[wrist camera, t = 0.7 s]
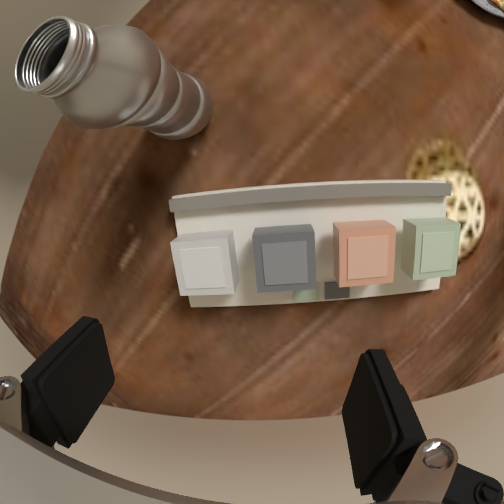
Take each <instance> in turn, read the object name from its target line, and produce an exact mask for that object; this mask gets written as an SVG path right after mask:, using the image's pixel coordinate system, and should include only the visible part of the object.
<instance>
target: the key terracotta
mask: <svg viewBox="0 0 504 504" xmlns="http://www.w3.org/2000/svg"><path fill="white" fill-rule="evenodd" d="M395 241H396V227H395V226H394V225H392V224H390V223H389V222H387V221H386V220H368V221H350V222H333V252H334V276H335V279H336V281H337V283H338V286H339V287H351V286H363V285H373V284H384V283H393V277H394V262H395Z"/></svg>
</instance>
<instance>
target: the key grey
mask: <svg viewBox="0 0 504 504" xmlns="http://www.w3.org/2000/svg"><path fill="white" fill-rule="evenodd" d="M170 244H171V249H172V255H173V261H174V266H175V271H176V276H177V282H178V287H179V292H180V296H192V295H222V294H235V291H236V289H237V286H238V283H239V274H238V266H237V258H236V250H235V241H234V233H233V229H232V230H220V231H208V232H197V233H186V234H181V235H179V236H178V237H177V238H175V239H174V240H173V241H171V242H170Z"/></svg>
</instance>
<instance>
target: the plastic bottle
mask: <svg viewBox="0 0 504 504" xmlns="http://www.w3.org/2000/svg"><path fill="white" fill-rule="evenodd" d="M14 79H15V83H16V85H17V87H18V88H19V89H20V90H22V91H24V92H26V93H33V94H37V95H39V96H41V97H45V98H50V99H54V102H55V104H56V106H57V107H58V109H59V111H60V113H61V114H62V115H63V116H64V117H65V118H67V119H68V120H70V121H71V122H73V123H74V124H76V125H78V126H80V127H83V128H88V129H105V128H113V127H123V126H134V127H141V128H144V129H147V130H148V131H150V132H151V133H153V134H155V135H157V136H159V137H161V138H164V139H167V140H180V139H184V138H188V137H191V136H193V135H195V134H197V133H198V132H200V131H201V130H202V129H203V128H204V127H205V126H206V125H207V123H208V122H209V120H210V118H211V116H212V112H213V100H212V96H211V93H210V91H209V89H208V87H207V86H206V85H205V84H204V83H203V82H202V81H201V80H200V79H198V78H196V77H194V76H191V75H189V74H186V73H182V72H180V71H178V70H177V69H175V68H174V67H173V66H172V65H171V64H170V63H169V62H168V61H167V60H166V59H165V58H164V56H163V55H162V53H161V52H160V50H159V49H158V48H157V46H156V45H155V43H154V42H153V41H152V40H151V39H150V38H149V37H148V36H147V34H145V33H144V32H143V31H141V30H140V29H137V28H134V27H131V26H126V25H118V24H111V25H105V26H100V27H96V28H93V29H92V28H91V27H90V26H88V25H86V24H84V23H81V22H76V21H74V20H72V19H71V18H69V17H65V16H54V17H51V18H49V19H47V20H45V21H44V22H42V23H41V24H40V25H38V26H37V27H36V28H35V29H34V30H33V31H32V33H31V34H30V35H29V36H28V37H27V39H26V41H25V42H24V44H23V45H22V47H21V49H20V51H19V54H18V56H17V59H16V62H15V68H14Z"/></svg>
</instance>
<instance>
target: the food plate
mask: <svg viewBox="0 0 504 504" xmlns="http://www.w3.org/2000/svg"><path fill="white" fill-rule="evenodd" d="M471 1H472V0H471ZM473 2H474V3H476V4H477V5H478V6H480V7H481V8H483V10H485V11H487V12H488V13H489V14H492V15H493V16H496V17H499V18H502V19H504V0H473Z"/></svg>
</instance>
